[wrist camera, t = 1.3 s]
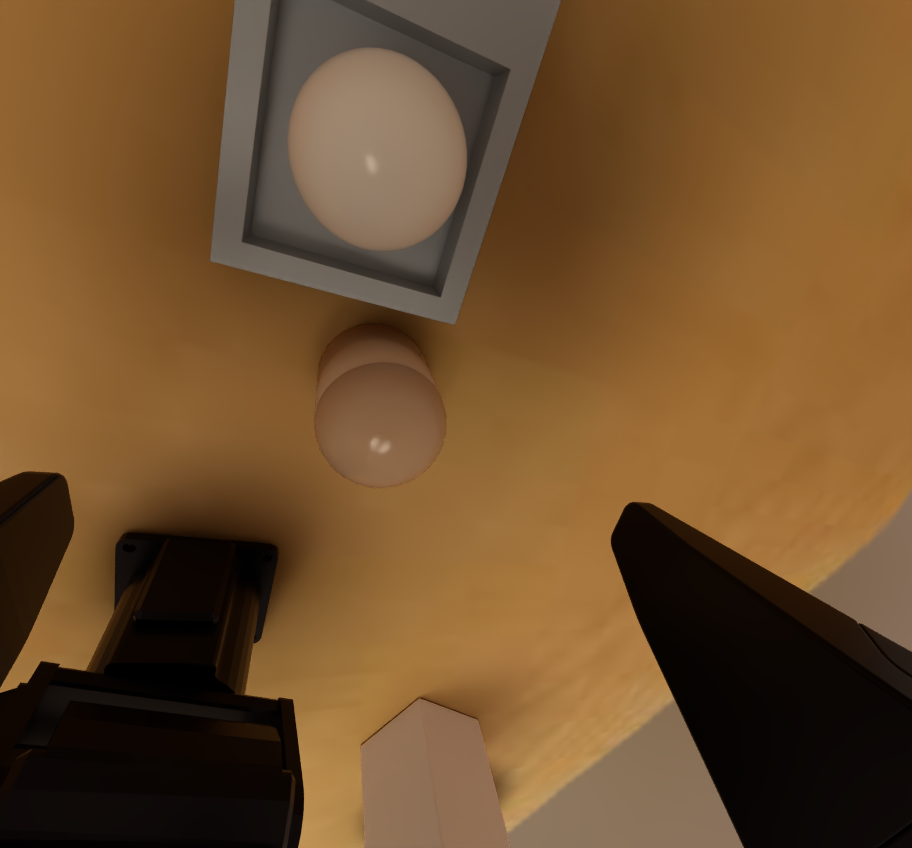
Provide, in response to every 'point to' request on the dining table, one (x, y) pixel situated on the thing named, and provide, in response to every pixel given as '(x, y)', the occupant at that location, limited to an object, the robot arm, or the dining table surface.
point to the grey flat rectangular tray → (266, 127)
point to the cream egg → (377, 149)
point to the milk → (430, 783)
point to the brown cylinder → (377, 407)
